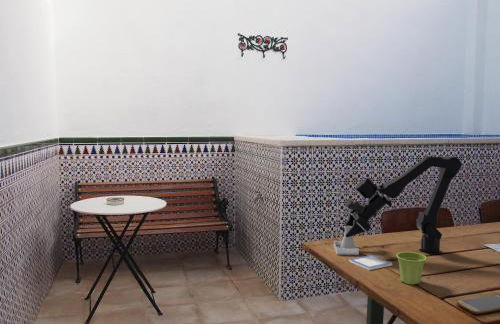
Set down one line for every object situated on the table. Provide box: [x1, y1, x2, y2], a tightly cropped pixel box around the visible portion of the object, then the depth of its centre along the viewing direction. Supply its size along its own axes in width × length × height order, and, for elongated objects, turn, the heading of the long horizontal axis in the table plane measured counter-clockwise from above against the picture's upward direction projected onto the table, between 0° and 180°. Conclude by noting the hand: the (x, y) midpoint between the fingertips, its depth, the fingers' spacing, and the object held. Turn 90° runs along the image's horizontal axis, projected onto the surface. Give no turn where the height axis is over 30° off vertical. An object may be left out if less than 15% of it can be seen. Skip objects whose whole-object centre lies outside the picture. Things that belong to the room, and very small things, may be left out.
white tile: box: [348, 254, 393, 271], centre depth 173 cm, size 11×11×1 cm
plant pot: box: [396, 251, 427, 285], centre depth 154 cm, size 9×9×9 cm
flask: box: [339, 225, 357, 248], centre depth 189 cm, size 7×7×10 cm
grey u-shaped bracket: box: [333, 240, 360, 256], centre depth 189 cm, size 8×11×3 cm
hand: (344, 233), depth 189 cm, fingers open, 9 cm apart
